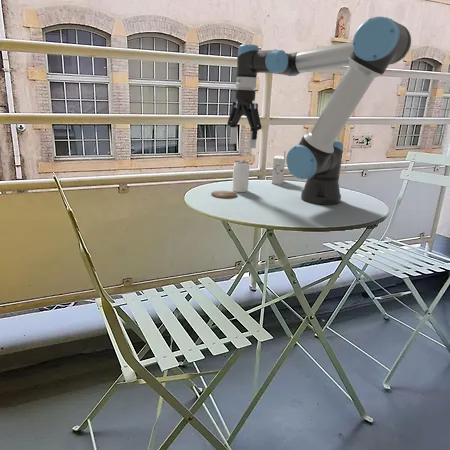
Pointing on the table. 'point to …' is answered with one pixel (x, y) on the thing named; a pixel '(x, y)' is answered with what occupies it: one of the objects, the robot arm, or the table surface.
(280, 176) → the ink cartridge box
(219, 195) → the coaster
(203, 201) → the table surface
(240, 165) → the can
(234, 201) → the table surface
